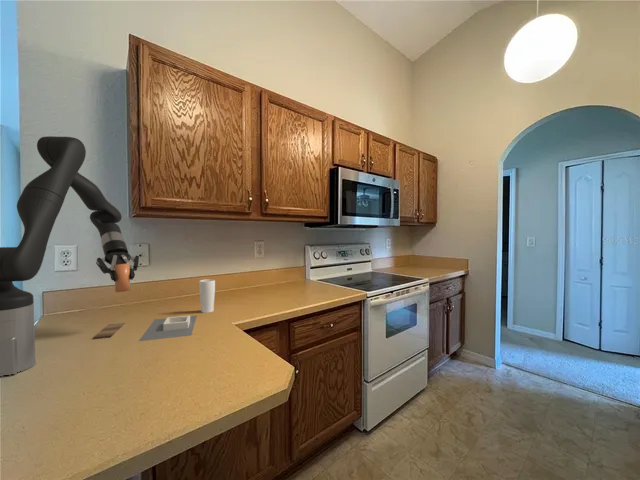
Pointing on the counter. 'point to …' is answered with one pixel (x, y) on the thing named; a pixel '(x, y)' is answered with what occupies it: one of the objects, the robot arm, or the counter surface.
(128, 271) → the orange cylinder
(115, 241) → the robot arm
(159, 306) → the counter surface
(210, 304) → the drinking glass
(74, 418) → the counter surface
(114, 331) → the pad
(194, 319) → the board
